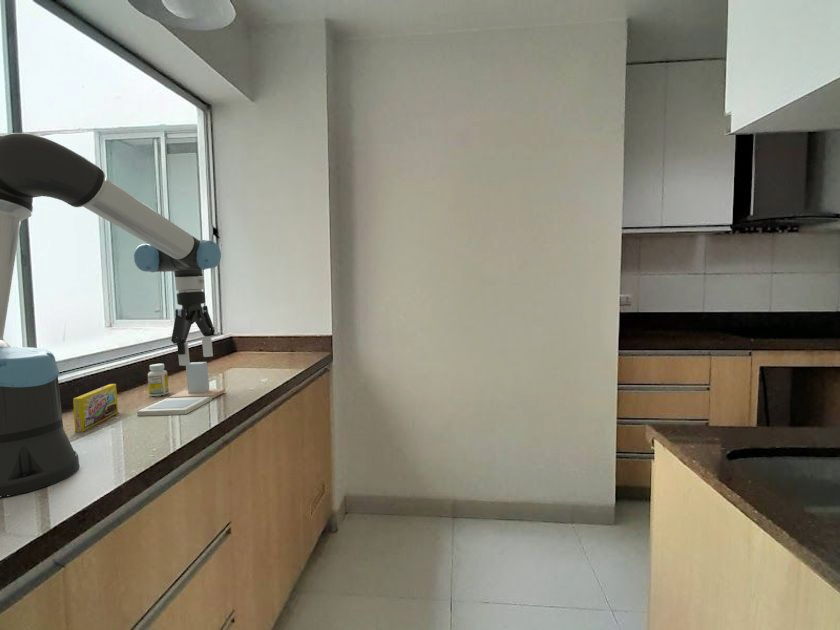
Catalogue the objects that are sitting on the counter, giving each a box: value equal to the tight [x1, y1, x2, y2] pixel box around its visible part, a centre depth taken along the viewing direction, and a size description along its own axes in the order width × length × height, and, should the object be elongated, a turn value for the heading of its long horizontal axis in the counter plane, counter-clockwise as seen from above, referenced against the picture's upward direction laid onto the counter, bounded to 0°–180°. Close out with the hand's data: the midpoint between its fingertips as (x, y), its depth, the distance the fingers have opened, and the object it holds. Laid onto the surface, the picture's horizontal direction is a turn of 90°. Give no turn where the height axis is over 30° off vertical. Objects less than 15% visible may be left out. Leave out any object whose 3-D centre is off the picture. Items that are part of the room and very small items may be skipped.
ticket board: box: [136, 396, 213, 417], centre depth 125 cm, size 14×13×1 cm
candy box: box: [72, 383, 119, 433], centre depth 114 cm, size 16×2×8 cm, turn 8°
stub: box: [169, 361, 226, 400], centre depth 135 cm, size 8×13×10 cm, turn 88°
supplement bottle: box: [147, 363, 170, 397], centre depth 141 cm, size 5×5×10 cm
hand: (197, 360), depth 136 cm, fingers open, 13 cm apart
